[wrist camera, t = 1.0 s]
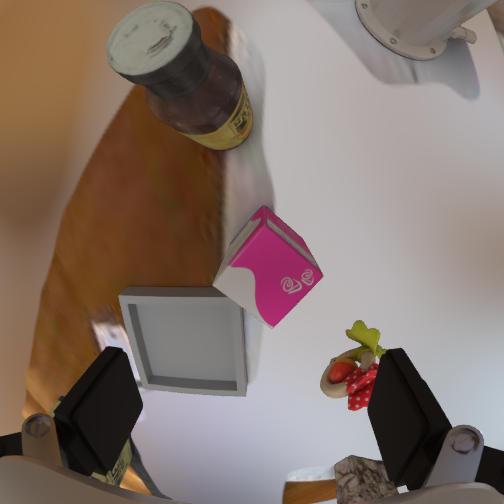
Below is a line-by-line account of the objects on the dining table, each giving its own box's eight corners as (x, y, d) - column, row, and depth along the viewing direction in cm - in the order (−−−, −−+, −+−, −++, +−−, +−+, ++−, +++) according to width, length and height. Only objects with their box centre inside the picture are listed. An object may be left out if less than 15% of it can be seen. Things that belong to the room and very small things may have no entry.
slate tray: (241, 286, 32) (238, 297, 30) (247, 382, 36) (245, 396, 33) (128, 286, 33) (118, 295, 31) (150, 376, 37) (143, 388, 34)
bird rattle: (346, 363, 37) (401, 337, 31) (332, 432, 28) (400, 415, 23) (317, 338, 36) (374, 308, 31) (297, 411, 27) (369, 389, 22)
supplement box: (270, 278, 32) (270, 333, 21) (228, 244, 31) (206, 283, 20) (306, 239, 31) (325, 277, 19) (263, 203, 30) (260, 220, 19)
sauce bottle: (259, 144, 28) (240, 89, 9) (200, 157, 29) (90, 137, 10) (247, 87, 27) (212, -31, 7) (189, 100, 27) (84, 18, 8)
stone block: (326, 468, 41) (336, 555, 22) (350, 450, 40) (368, 542, 20) (373, 475, 42) (390, 549, 23) (396, 458, 41) (420, 534, 21)
